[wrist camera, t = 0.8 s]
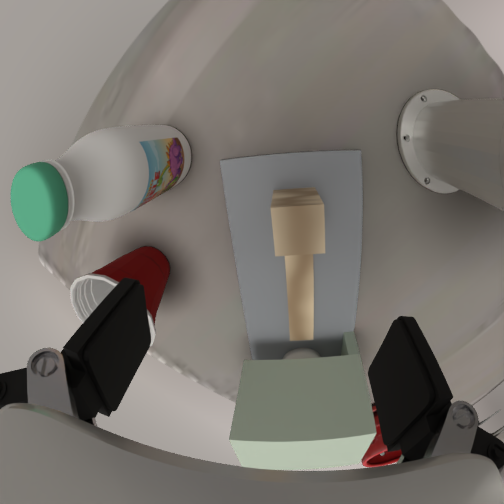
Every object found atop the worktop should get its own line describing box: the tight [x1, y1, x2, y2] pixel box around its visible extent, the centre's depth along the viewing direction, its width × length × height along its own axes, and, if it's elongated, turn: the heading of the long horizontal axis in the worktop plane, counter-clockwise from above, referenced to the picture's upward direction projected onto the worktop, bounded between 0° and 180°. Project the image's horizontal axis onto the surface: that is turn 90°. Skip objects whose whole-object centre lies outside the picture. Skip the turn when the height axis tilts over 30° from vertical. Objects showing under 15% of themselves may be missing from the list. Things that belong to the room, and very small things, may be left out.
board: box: [220, 150, 363, 360], centre depth 34 cm, size 15×36×1 cm, turn 7°
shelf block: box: [229, 331, 377, 470], centre depth 31 cm, size 15×10×18 cm, turn 97°
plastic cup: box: [70, 246, 170, 346], centre depth 30 cm, size 11×11×12 cm
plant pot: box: [361, 406, 402, 467], centre depth 40 cm, size 13×13×12 cm
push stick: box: [271, 187, 325, 341], centre depth 29 cm, size 4×20×7 cm, turn 7°
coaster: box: [282, 348, 321, 360], centre depth 38 cm, size 6×6×2 cm
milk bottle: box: [11, 125, 191, 241], centre depth 20 cm, size 8×8×20 cm
